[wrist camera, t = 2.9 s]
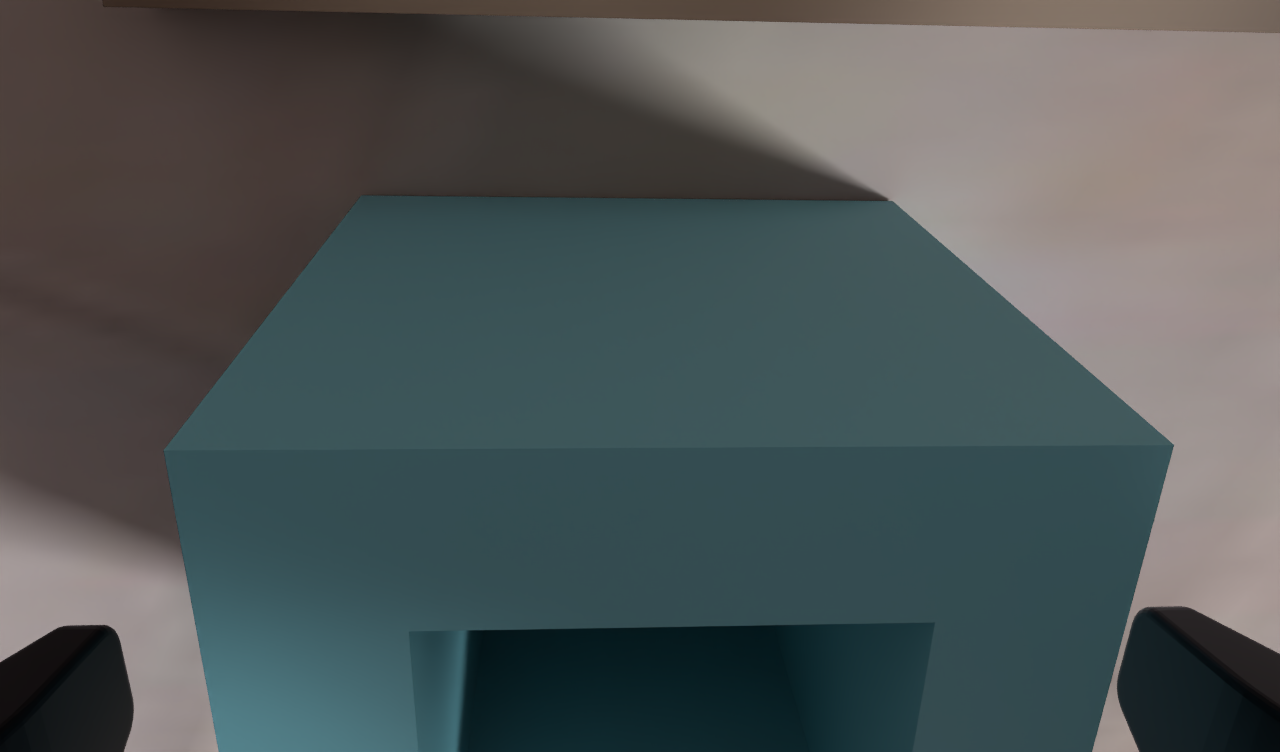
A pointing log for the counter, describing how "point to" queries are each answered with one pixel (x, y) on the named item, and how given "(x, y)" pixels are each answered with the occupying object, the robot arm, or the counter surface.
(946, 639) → the square socket block
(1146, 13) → the pin plate
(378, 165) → the counter surface
